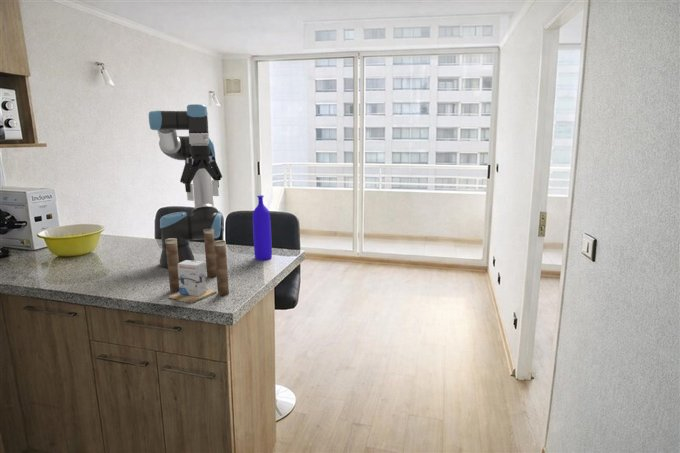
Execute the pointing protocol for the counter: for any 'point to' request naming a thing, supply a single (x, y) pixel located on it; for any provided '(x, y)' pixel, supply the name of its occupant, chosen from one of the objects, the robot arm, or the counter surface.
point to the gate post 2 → (210, 252)
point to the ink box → (191, 278)
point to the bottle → (262, 231)
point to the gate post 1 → (172, 263)
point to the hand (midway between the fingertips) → (203, 198)
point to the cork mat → (191, 298)
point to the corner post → (221, 267)
